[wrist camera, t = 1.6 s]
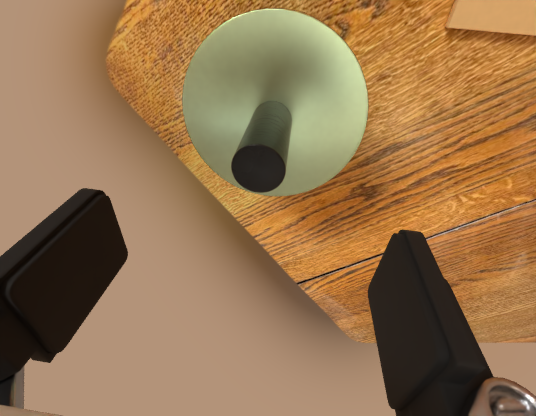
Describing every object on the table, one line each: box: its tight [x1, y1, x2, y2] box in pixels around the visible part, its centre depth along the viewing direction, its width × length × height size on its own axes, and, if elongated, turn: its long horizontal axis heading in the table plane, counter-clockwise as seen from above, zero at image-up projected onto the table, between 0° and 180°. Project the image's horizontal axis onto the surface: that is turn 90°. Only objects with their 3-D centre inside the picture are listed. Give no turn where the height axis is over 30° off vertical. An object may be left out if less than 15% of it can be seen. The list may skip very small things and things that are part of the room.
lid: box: [182, 8, 368, 196], centre depth 16 cm, size 12×12×8 cm
